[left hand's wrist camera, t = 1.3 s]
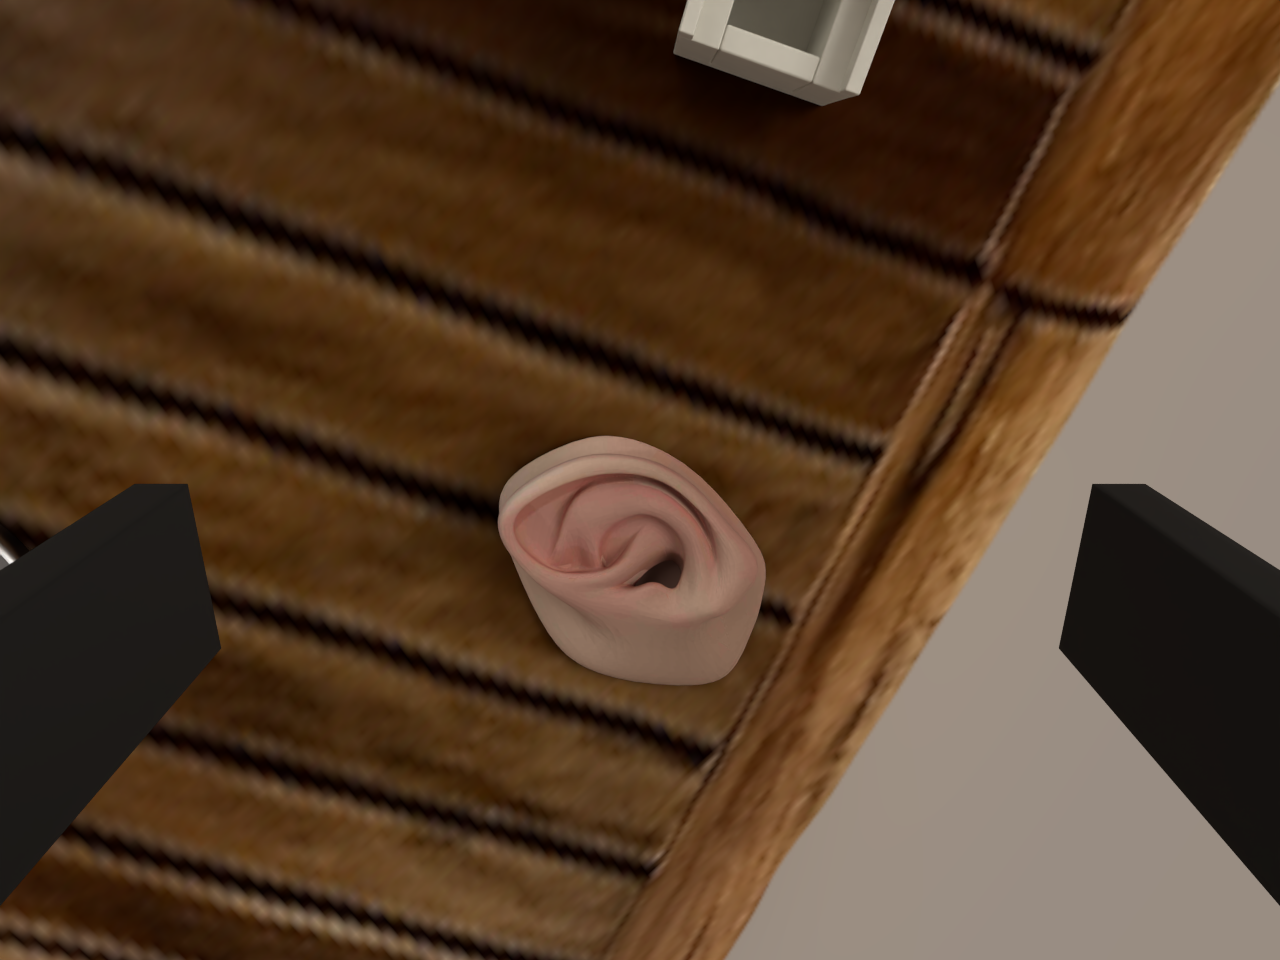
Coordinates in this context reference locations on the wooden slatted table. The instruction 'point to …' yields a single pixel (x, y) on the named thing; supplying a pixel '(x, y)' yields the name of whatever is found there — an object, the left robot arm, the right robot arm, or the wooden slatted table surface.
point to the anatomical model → (633, 561)
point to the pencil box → (787, 42)
